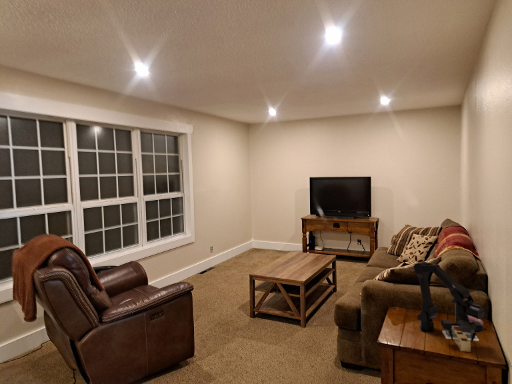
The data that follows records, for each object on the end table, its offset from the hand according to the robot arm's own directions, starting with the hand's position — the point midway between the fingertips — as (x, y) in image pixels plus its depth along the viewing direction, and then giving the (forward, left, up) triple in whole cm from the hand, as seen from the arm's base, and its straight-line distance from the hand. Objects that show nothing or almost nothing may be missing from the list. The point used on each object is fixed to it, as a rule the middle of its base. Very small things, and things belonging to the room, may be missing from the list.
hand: (461, 340), depth 183 cm
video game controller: (+13, +24, -3) cm, 27 cm away
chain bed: (+2, +10, -2) cm, 11 cm away
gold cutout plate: (0, 0, -2) cm, 3 cm away
